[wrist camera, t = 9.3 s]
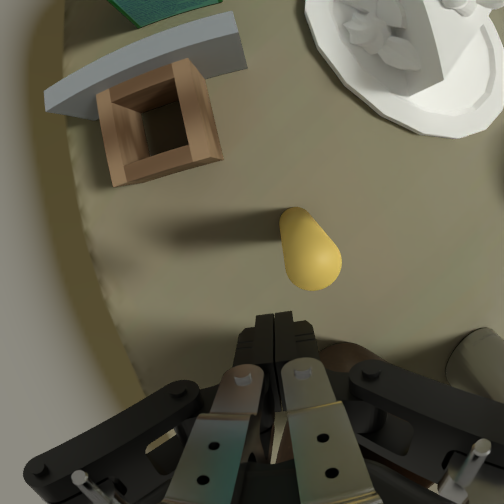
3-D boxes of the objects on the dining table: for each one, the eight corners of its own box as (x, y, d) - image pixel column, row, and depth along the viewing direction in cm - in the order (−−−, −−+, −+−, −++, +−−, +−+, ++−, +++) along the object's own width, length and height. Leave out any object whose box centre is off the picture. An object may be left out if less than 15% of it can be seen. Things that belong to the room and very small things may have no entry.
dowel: (314, 236, 27) (344, 284, 16) (282, 242, 28) (290, 295, 16) (308, 204, 27) (337, 230, 15) (276, 210, 27) (279, 242, 15)
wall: (247, 68, 24) (238, 32, 16) (94, 120, 25) (45, 111, 18) (242, 50, 23) (232, 10, 15) (92, 103, 25) (44, 90, 17)
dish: (328, -72, 17) (341, -129, 6) (502, 17, 18) (550, -7, 7) (273, 79, 24) (274, 24, 13) (488, 176, 24) (560, 187, 13)
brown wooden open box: (223, 159, 26) (210, 157, 20) (143, 182, 27) (113, 187, 21) (204, 79, 24) (187, 57, 18) (127, 106, 25) (95, 94, 19)
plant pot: (272, 416, 34) (268, 526, 18) (271, 312, 30) (269, 439, 14) (385, 407, 32) (421, 504, 17) (410, 306, 29) (489, 401, 13)
